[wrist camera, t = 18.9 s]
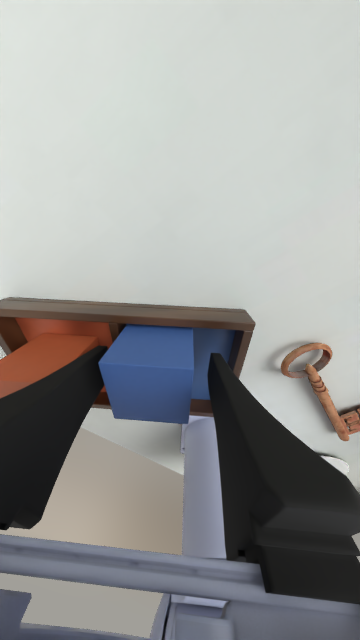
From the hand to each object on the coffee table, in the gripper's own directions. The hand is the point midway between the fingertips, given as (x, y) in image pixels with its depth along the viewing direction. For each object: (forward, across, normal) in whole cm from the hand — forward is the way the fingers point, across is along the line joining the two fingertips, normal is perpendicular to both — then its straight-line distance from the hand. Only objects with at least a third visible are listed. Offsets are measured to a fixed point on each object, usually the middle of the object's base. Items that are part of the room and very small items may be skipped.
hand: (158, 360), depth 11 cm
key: (+2, -16, +5) cm, 17 cm away
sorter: (+2, +3, +2) cm, 4 cm away
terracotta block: (+2, +7, +2) cm, 8 cm away
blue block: (+2, 0, 0) cm, 2 cm away
